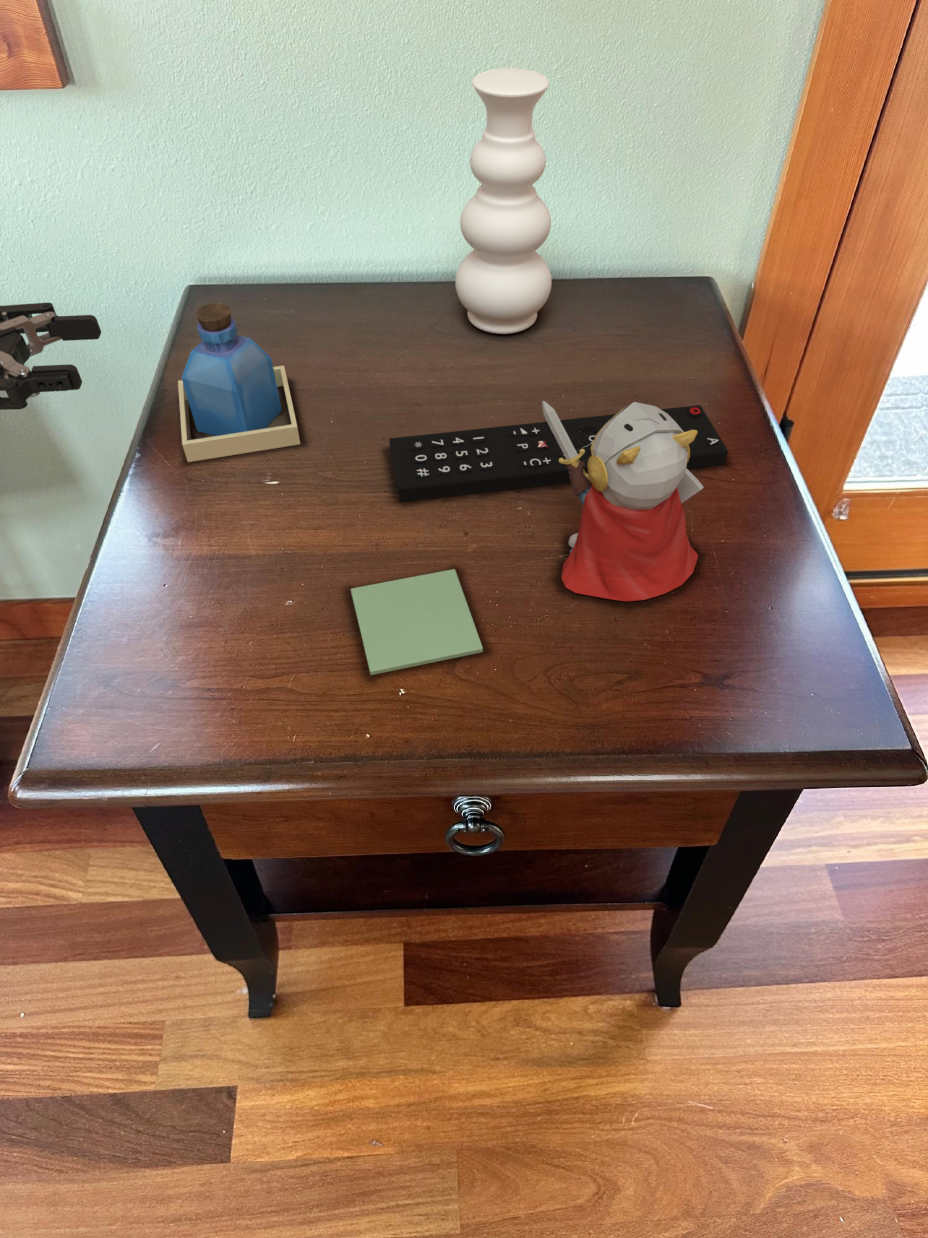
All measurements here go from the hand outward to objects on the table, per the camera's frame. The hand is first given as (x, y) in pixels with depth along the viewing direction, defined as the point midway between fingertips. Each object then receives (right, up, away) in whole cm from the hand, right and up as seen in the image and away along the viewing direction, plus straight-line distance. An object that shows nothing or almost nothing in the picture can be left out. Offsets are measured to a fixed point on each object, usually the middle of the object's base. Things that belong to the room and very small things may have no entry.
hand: (88, 350), depth 78 cm
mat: (+31, -25, -10) cm, 42 cm away
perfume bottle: (+12, -5, +7) cm, 15 cm away
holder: (+12, -5, +7) cm, 15 cm away
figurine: (+49, -20, -5) cm, 53 cm away
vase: (+40, +10, +20) cm, 46 cm away
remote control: (+44, -10, +3) cm, 46 cm away
